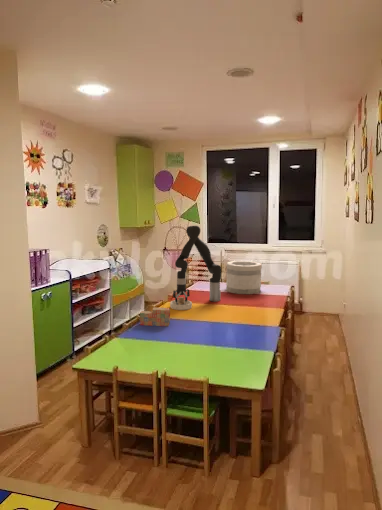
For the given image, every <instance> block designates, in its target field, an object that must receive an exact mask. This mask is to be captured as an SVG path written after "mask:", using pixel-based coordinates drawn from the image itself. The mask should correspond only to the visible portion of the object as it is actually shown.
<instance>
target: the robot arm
mask: <svg viewBox="0 0 382 510" xmlns="http://www.w3.org/2000/svg"><path fill="white" fill-rule="evenodd" d="M186 234H187V236H188V237H189V239H188V240H187V242H186V243H185V244H184V246H183V248H182V250H181V253H180V255H178V257H177V259H176V260H175V264H174V265H175V267H176V268H178V269H180V270H178V271H177V273H176V275H177V276H176V277H177V278H176V290H174V289H173V291H172V297H173V298H174V300H175V302H176V303H177V300H178V297H179V296H184V300H185V301H186V302H187V300H188V297H190V289H189V288H188V289H187V288H186V287H187V280H186V279H187V278H186V273H187V270H188V265H189V264H188V261H187V259H189V257H190V254H191V251H192V249H193V247H194V246H195V248H196V250H197V252H198V254H199V256H200V258H202V261H203V262H204V263H205V265H206V268H207V271H208V272H209V273H210V274H212V275H211V276H212V277H211V278H210V279H209V301H211V302H220V301H221V299H222V297H221V294H222V293H221V291H222V290H221V278H222V267H221V266H220V265H219V264H216V263H215V262H214V260H213V259H212V255H211V254H212V253H211V250H210V248H209V246H208V245H207V243H205V242H204V241H203V240H202V239H200V237H199V236H200V234H201V228H200V226H199V225H190V226H187V227H186Z"/></svg>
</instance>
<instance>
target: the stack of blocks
mask: <svg viewBox="0 0 382 510" xmlns="http://www.w3.org/2000/svg"><path fill="white" fill-rule="evenodd" d="M170 324H171V307H170V308H169V307H153V308H152V310H151V311H150V310H141V311H140V313H139V326H153V327H154V326H155V327H169V326H170Z"/></svg>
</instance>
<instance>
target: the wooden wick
mask: <svg viewBox="0 0 382 510" xmlns="http://www.w3.org/2000/svg"><path fill="white" fill-rule="evenodd" d="M177 300H178V305H180V304H184V300H185V297H183V296H181V297H179V296H178V298H177Z"/></svg>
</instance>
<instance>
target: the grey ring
mask: <svg viewBox="0 0 382 510" xmlns="http://www.w3.org/2000/svg"><path fill="white" fill-rule="evenodd" d="M169 306H170V309H172V310H176V311H187V310H190V309H192V306H193V303H192V301H191V300H189V299H187V302H186V301H185V299H184V304H180V305H178V299H177V303H176V302H175V299H174V300H171V301H170V303H169Z"/></svg>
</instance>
